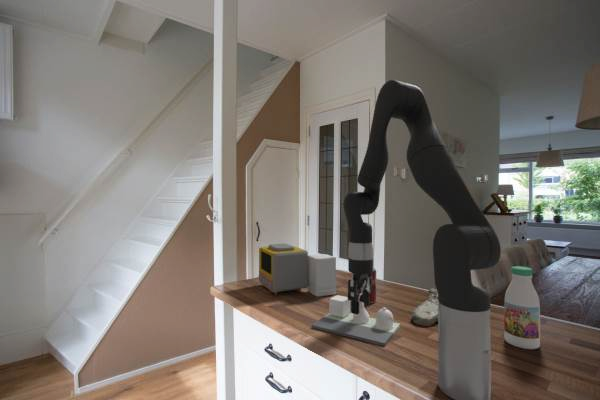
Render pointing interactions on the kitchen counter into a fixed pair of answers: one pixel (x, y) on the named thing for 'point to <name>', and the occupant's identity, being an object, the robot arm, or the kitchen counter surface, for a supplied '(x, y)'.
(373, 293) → the soda can
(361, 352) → the kitchen counter surface
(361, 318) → the container set
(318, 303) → the kitchen counter surface
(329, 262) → the supplement box
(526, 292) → the milk bottle
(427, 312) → the elongated rock
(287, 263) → the grey yellow box
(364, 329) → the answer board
